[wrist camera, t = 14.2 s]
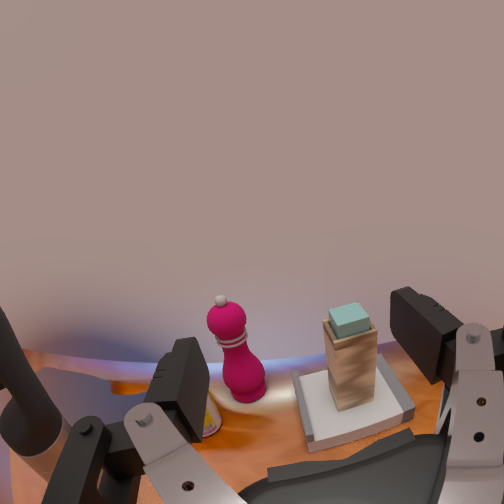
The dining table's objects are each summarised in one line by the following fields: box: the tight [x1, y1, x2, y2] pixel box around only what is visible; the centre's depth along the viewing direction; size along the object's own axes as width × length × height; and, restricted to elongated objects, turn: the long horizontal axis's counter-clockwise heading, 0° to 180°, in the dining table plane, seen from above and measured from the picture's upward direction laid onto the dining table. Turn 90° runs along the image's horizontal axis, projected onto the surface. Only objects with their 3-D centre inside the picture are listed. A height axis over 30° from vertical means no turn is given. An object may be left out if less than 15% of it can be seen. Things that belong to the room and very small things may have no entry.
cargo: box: [328, 302, 369, 340], centre depth 32 cm, size 4×4×3 cm
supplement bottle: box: [203, 390, 222, 437], centre depth 38 cm, size 7×7×13 cm
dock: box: [291, 353, 416, 453], centre depth 36 cm, size 16×14×5 cm
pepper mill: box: [207, 295, 266, 403], centre depth 43 cm, size 7×7×20 cm
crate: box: [323, 318, 377, 412], centre depth 34 cm, size 6×6×13 cm
